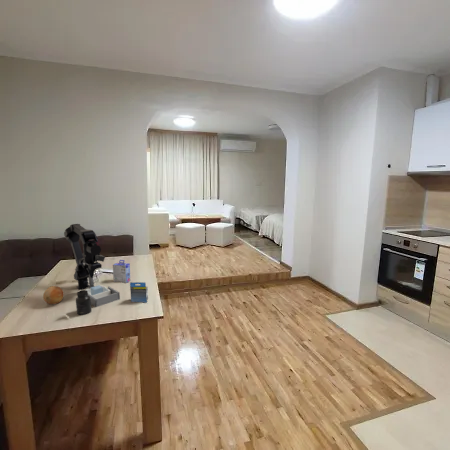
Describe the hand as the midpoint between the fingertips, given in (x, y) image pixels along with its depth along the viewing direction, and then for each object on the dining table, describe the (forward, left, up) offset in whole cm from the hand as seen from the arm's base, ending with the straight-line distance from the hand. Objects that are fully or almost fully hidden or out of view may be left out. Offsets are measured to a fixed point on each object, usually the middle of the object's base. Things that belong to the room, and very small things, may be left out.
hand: (90, 277), depth 167 cm
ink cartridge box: (-6, +22, -11) cm, 25 cm away
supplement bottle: (+22, -13, -11) cm, 28 cm away
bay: (+14, 0, -10) cm, 18 cm away
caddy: (+6, 0, -10) cm, 12 cm away
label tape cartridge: (+30, +14, -11) cm, 35 cm away
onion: (-2, -20, -11) cm, 23 cm away
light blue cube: (+7, 0, -10) cm, 12 cm away
